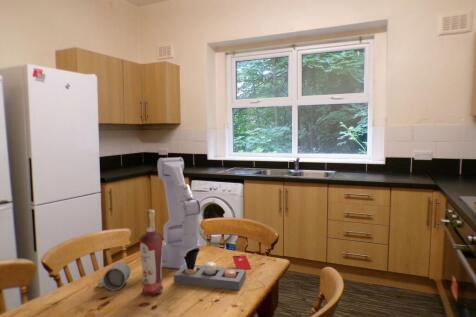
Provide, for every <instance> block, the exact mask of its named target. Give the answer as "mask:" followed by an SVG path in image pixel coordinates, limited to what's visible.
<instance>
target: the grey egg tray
mask: <svg viewBox="0 0 476 317" xmlns="http://www.w3.org/2000/svg"><path fill="white" fill-rule="evenodd" d="M195 267H196V274H188V273H185V269H186V268H187V265H186V264H185V265H184V266H183V267H182V268H181V269H180V268H179V269H178V270H177V271H176V272H175V273H174V274H173V283H174V284H178V285H187V286H189V285H190V286H195V287H196V286H197V287H204V288H205V287H206V288H215V289H224V290H233V291H240V289H241V287H242V286H243V284H244V282H245V280H246V278H247V275H246V272H247V270H241V269H236V268H227V267H219V266H218V267H217V266H216V273H215V274H212V275H207V274H205V265H196V264H195ZM227 270H234V271H235V272H236V278H227V277H225V271H227Z"/></svg>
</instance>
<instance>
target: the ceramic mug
mask: <svg viewBox="0 0 476 317" xmlns="http://www.w3.org/2000/svg"><path fill="white" fill-rule="evenodd" d="M130 275H131V267H130V266H129V265H128V263H126V262H123V261H121V262H116V263H115V264H113V265H112V266H110V268H108V269H107V270H106V271H105V273H104V274H103V277H102V279H101V280H98V281H97V286H98V287H99V288H102V287H105V288H106V289H108V290H109V291H119V290H120V289H122V288H123V287H124V286H125V285H126V283H127V281H128V280H129V279H130V277H131V276H130Z"/></svg>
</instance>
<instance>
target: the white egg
mask: <svg viewBox="0 0 476 317" xmlns="http://www.w3.org/2000/svg"><path fill="white" fill-rule="evenodd" d="M204 266H205V274H207V275H212V274H215V273H216V267H217V265H216V263H215V262H213V261H210V262H209V261H208V262H205V263H204Z"/></svg>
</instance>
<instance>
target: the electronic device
mask: <svg viewBox="0 0 476 317" xmlns="http://www.w3.org/2000/svg"><path fill="white" fill-rule="evenodd" d="M232 260H233V262H234V266H235V269H241V270H246V271H248V270H252V267H251V265H250V264H251V263H250V262H249V260H248V258H247V255H245V254H244V255H233V256H232Z"/></svg>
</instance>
